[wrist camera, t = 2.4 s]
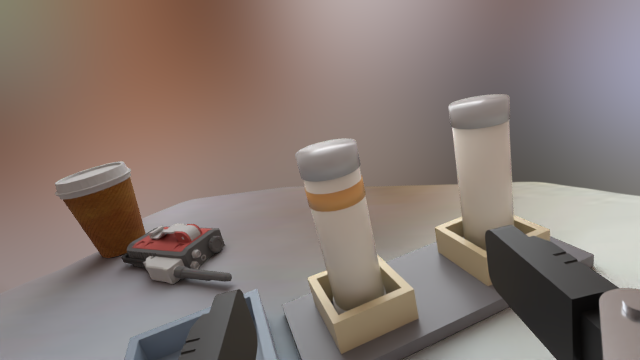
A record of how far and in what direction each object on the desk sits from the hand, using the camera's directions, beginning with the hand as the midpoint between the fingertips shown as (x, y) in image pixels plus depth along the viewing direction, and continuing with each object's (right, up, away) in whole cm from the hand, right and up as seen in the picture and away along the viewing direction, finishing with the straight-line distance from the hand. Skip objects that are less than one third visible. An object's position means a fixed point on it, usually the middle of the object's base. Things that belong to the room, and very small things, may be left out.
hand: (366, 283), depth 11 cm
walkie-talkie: (-17, -7, +32) cm, 37 cm away
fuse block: (+8, -6, +17) cm, 20 cm away
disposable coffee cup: (-31, -7, +41) cm, 52 cm away
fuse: (+13, -3, +18) cm, 23 cm away
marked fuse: (+2, -7, +15) cm, 17 cm away
